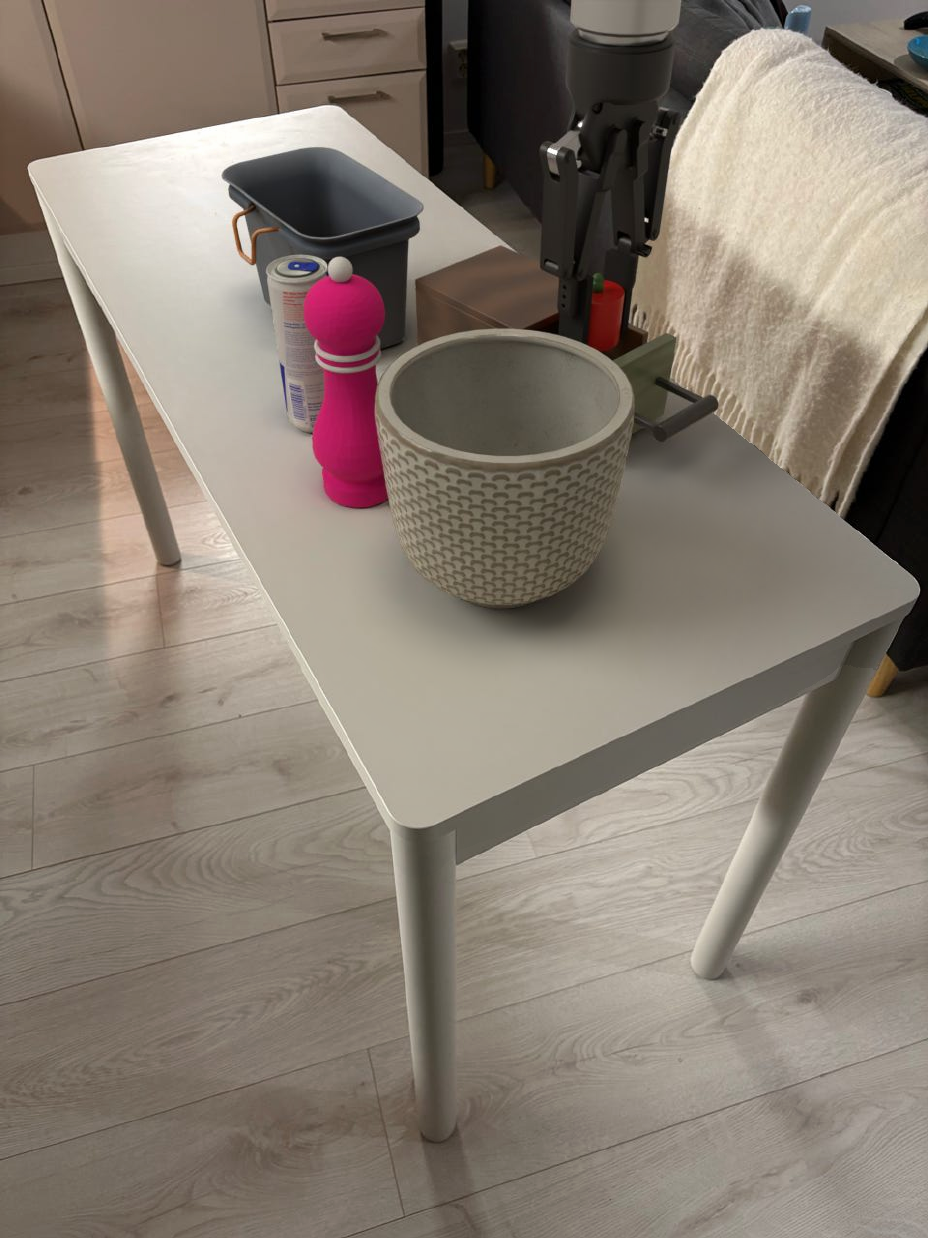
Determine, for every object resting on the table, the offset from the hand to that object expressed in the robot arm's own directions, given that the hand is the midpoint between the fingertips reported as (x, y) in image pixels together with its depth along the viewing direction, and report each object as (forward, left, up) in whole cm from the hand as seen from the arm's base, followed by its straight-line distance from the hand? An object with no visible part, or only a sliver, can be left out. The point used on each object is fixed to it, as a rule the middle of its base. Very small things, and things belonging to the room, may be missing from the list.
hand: (593, 335), depth 84 cm
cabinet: (+10, -2, -9) cm, 14 cm away
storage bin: (+32, +1, -9) cm, 33 cm away
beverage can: (+20, +15, -9) cm, 26 cm away
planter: (-6, +22, -9) cm, 24 cm away
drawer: (-2, 0, -8) cm, 8 cm away
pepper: (0, 0, 0) cm, 0 cm away
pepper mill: (+10, +20, -9) cm, 24 cm away
